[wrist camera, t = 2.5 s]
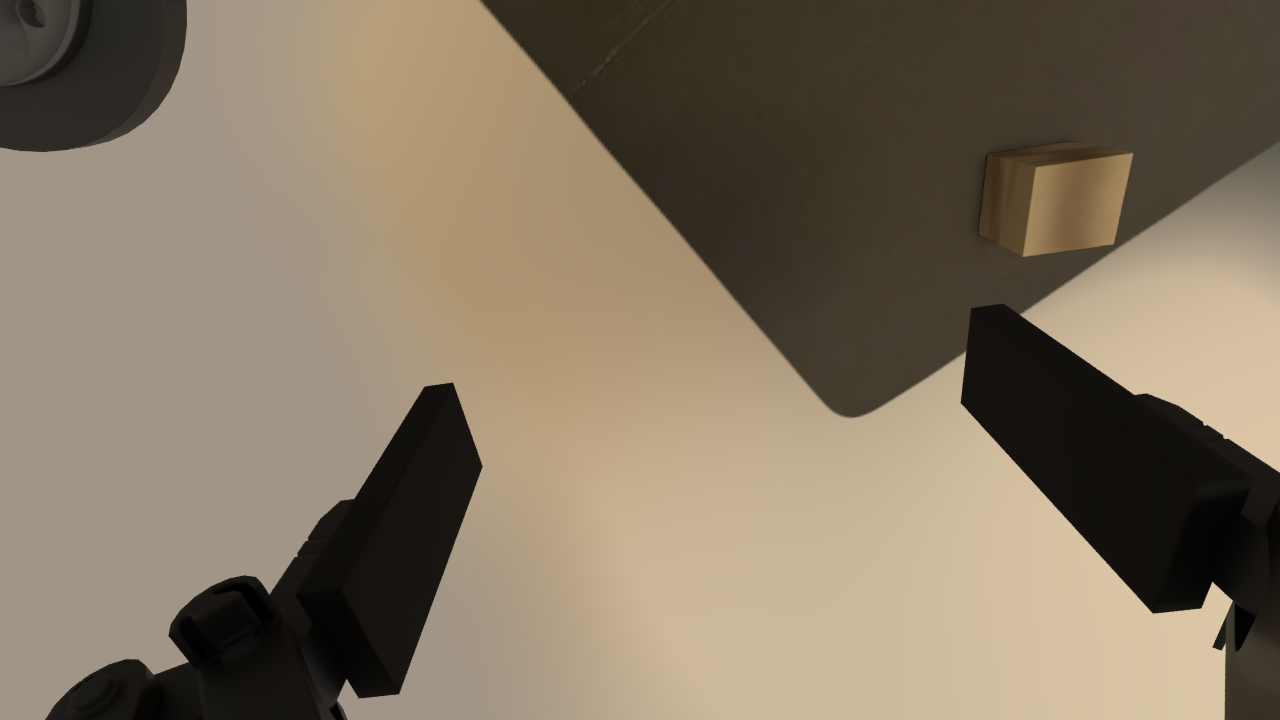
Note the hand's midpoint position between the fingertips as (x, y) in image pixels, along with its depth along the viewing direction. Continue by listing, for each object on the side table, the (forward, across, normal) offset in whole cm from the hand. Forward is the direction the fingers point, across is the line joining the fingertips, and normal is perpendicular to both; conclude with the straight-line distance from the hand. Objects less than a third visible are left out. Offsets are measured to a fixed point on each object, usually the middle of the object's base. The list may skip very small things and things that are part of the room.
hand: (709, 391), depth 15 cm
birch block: (+24, +22, -3) cm, 33 cm away
